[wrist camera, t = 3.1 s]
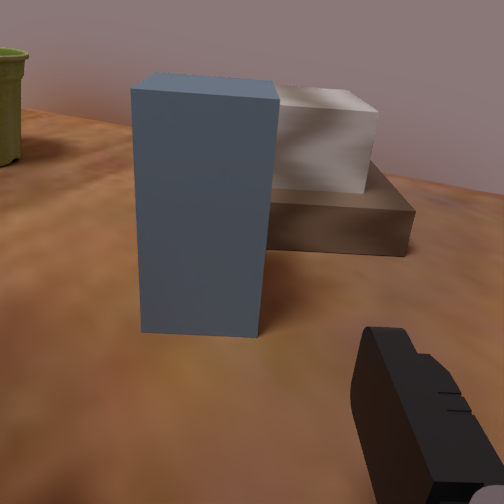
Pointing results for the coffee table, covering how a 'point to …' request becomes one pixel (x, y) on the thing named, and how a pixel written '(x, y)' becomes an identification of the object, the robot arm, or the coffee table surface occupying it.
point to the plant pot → (10, 103)
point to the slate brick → (202, 200)
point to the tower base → (342, 220)
